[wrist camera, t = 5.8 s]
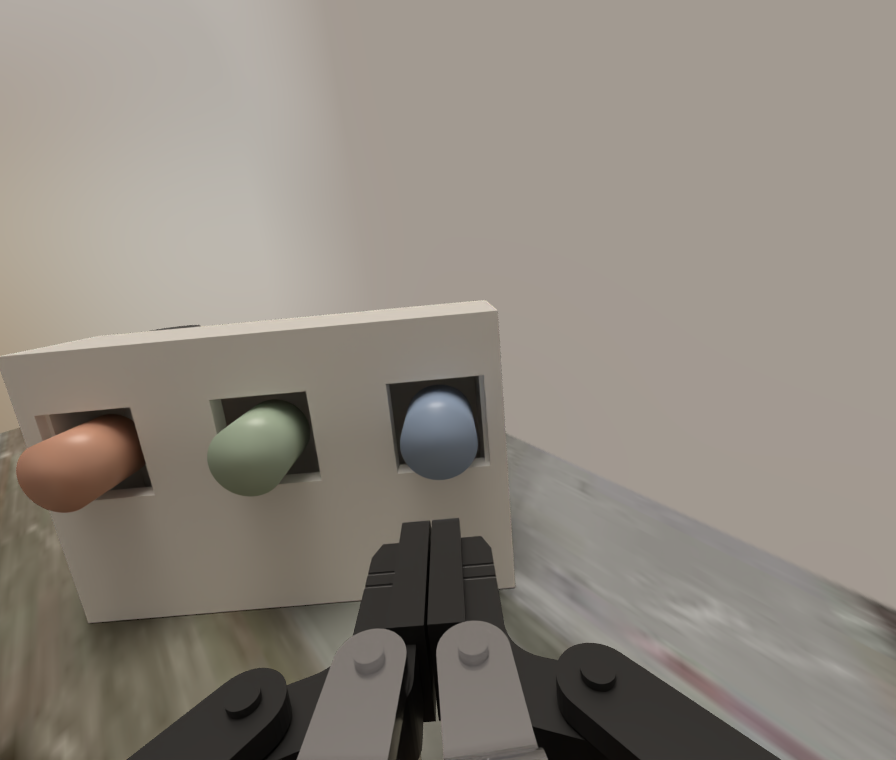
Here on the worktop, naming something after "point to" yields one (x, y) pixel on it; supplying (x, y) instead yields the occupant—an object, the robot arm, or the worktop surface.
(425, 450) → the blue button
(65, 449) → the terracotta button
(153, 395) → the console
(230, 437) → the sage button
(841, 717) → the worktop surface
